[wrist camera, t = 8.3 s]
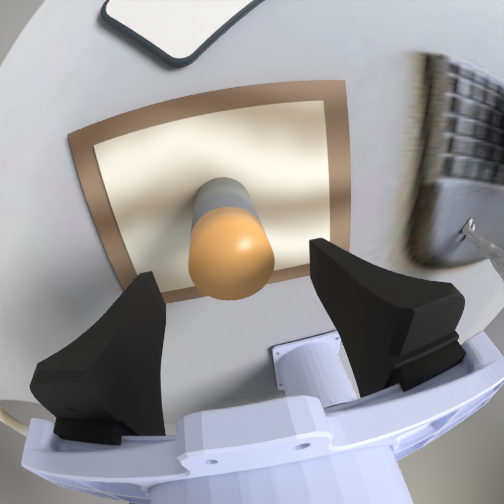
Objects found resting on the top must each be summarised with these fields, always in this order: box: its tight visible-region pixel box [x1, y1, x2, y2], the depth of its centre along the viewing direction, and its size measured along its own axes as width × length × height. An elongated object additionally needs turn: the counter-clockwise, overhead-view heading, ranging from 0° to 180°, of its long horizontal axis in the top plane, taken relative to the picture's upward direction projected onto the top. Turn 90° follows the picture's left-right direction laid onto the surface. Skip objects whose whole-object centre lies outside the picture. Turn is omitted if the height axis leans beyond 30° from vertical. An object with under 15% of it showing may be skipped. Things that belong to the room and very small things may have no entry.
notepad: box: [68, 80, 351, 304], centre depth 20 cm, size 16×20×1 cm
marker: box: [188, 177, 275, 300], centre depth 16 cm, size 4×4×8 cm
